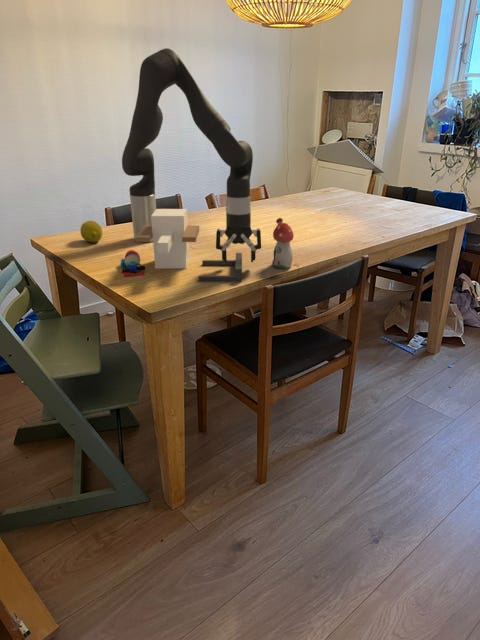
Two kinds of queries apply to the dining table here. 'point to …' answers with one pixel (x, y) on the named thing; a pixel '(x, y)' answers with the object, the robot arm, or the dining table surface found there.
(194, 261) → the dining table surface
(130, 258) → the toy figure
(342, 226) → the dining table surface
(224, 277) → the grey u-shaped bracket
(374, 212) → the dining table surface
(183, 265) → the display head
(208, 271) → the dining table surface
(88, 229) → the lemon
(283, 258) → the decorative ornament
